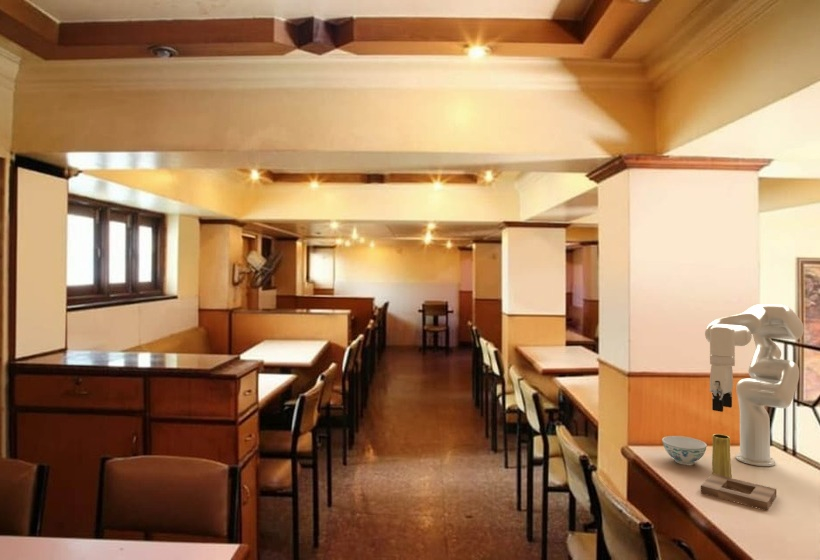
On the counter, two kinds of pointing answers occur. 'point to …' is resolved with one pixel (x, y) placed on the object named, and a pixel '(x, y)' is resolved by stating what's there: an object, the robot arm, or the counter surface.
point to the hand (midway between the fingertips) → (722, 408)
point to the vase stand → (757, 498)
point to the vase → (721, 455)
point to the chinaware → (684, 449)
